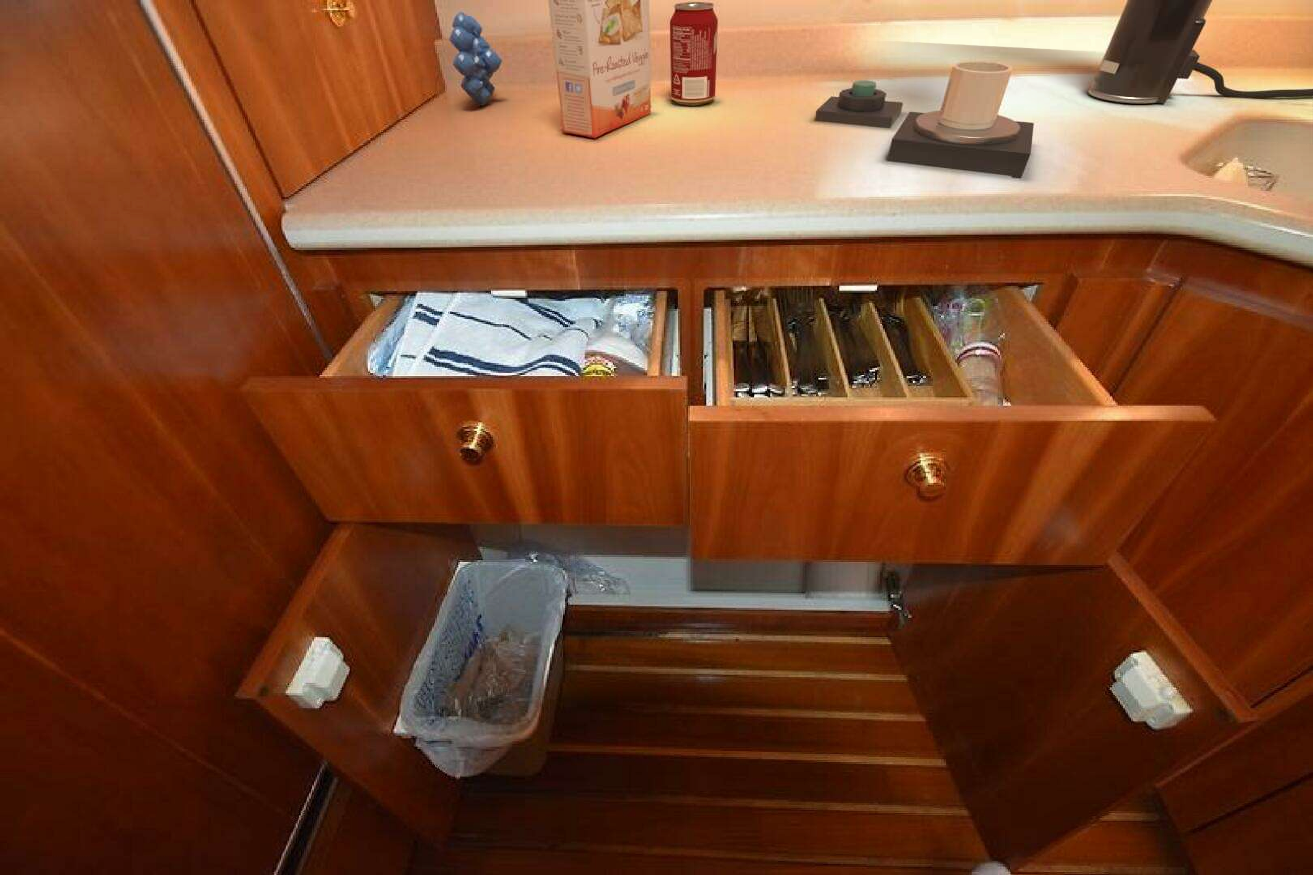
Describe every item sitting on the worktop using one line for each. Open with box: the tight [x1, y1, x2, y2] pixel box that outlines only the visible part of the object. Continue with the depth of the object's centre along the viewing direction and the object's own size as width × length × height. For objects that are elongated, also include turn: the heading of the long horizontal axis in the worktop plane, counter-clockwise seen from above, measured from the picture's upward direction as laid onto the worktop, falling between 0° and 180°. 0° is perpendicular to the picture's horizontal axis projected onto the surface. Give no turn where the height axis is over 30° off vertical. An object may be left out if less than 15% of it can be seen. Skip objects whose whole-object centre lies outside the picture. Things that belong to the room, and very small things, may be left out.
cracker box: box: [548, 0, 652, 139], centre depth 75 cm, size 14×6×21 cm, turn 148°
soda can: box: [669, 1, 719, 107], centre depth 85 cm, size 7×7×12 cm
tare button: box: [851, 80, 877, 97], centre depth 78 cm, size 3×3×2 cm
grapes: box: [449, 11, 503, 107], centre depth 87 cm, size 12×7×12 cm, turn 177°
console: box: [814, 87, 904, 129], centre depth 80 cm, size 10×8×3 cm
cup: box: [938, 60, 1014, 130], centre depth 65 cm, size 6×6×6 cm
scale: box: [886, 110, 1035, 179], centre depth 68 cm, size 14×12×3 cm
